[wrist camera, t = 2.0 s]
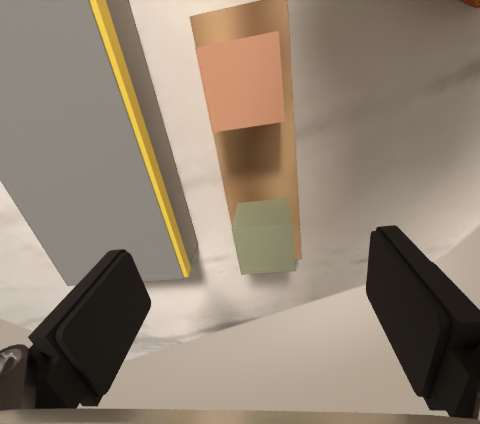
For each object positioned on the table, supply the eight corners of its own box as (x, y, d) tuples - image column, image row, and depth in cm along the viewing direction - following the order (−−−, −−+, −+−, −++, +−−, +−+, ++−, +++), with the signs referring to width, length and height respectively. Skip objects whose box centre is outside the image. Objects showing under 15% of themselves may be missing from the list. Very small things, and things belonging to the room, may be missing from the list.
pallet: (282, 9, 19) (287, -6, 16) (297, 237, 29) (301, 259, 25) (202, 27, 20) (189, 16, 16) (242, 241, 30) (239, 263, 26)
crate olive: (287, 197, 22) (292, 223, 18) (290, 239, 24) (295, 271, 20) (237, 203, 23) (231, 229, 19) (244, 243, 25) (241, 274, 21)
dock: (118, -53, 18) (58, -109, 13) (201, 243, 30) (187, 278, 24) (-34, -10, 20) (-142, -42, 15) (100, 251, 32) (67, 286, 26)
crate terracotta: (275, 42, 17) (278, 30, 13) (280, 112, 19) (285, 121, 15) (211, 55, 17) (195, 47, 13) (222, 121, 19) (212, 132, 16)
